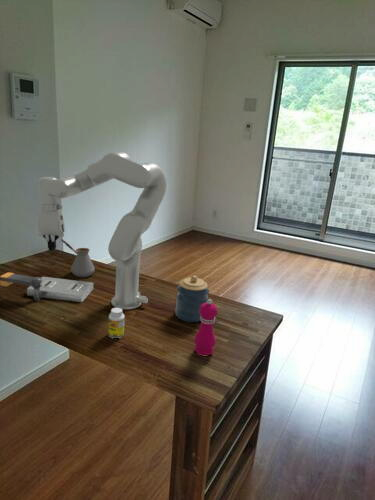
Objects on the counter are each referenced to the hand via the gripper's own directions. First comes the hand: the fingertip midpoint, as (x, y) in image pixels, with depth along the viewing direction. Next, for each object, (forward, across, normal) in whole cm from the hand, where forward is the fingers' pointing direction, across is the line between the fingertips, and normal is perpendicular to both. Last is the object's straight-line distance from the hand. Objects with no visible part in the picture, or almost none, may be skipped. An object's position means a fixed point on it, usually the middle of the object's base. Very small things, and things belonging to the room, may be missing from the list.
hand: (52, 249), depth 159 cm
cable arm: (+14, +9, +10) cm, 19 cm away
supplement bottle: (+20, -36, +30) cm, 51 cm away
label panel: (+19, -3, +1) cm, 19 cm away
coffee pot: (+19, -1, -23) cm, 30 cm away
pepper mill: (+21, -68, +33) cm, 79 cm away
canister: (+21, -61, +8) cm, 65 cm away
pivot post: (+19, +3, +11) cm, 22 cm away
